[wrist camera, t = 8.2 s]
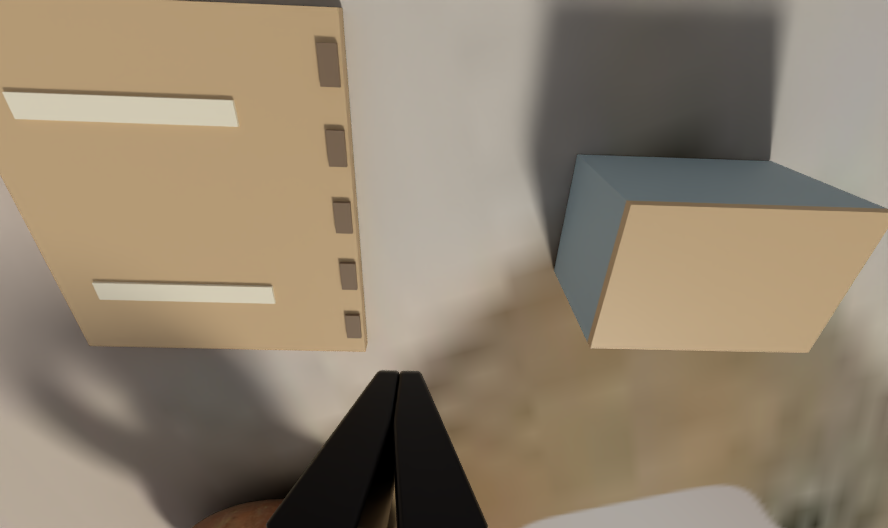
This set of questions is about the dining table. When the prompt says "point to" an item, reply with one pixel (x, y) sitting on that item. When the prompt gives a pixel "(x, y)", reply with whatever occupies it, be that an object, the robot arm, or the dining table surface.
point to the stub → (709, 253)
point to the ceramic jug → (242, 515)
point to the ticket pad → (187, 169)
